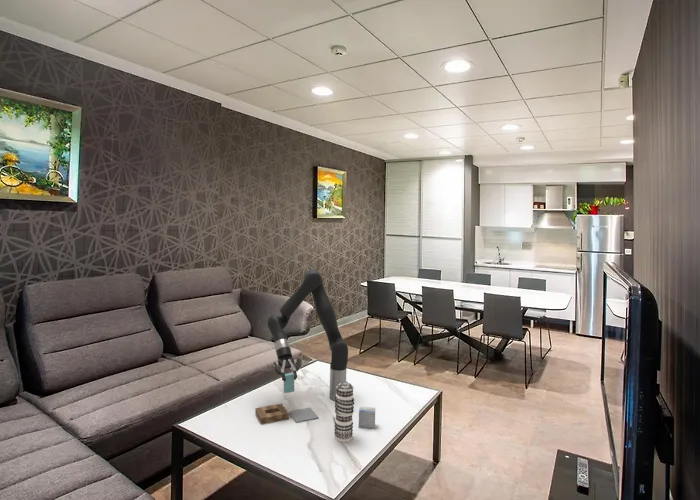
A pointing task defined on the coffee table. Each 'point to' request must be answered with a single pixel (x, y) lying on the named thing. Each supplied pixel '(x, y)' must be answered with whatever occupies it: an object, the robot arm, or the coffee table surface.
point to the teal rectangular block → (289, 383)
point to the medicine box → (367, 417)
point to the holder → (271, 413)
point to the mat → (303, 415)
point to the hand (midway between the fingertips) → (290, 379)
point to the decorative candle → (344, 412)
